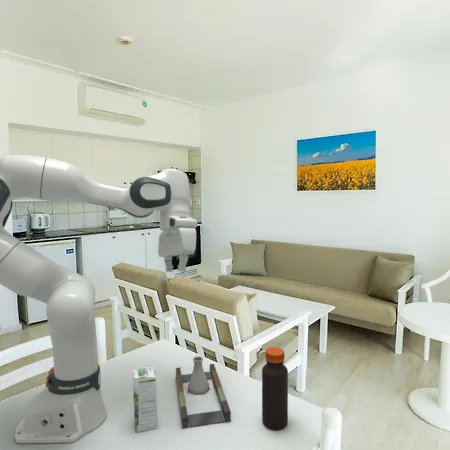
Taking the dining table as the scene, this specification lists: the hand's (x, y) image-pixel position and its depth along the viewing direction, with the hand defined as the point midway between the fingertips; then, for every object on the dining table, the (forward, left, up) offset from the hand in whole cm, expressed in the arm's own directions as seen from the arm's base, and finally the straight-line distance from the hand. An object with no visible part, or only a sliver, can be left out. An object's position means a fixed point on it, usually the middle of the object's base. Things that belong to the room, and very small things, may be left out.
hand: (175, 271), depth 102 cm
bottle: (+25, -16, -39) cm, 49 cm away
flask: (+7, +5, -39) cm, 40 cm away
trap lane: (+7, +1, -39) cm, 40 cm away
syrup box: (-9, -9, -39) cm, 41 cm away
